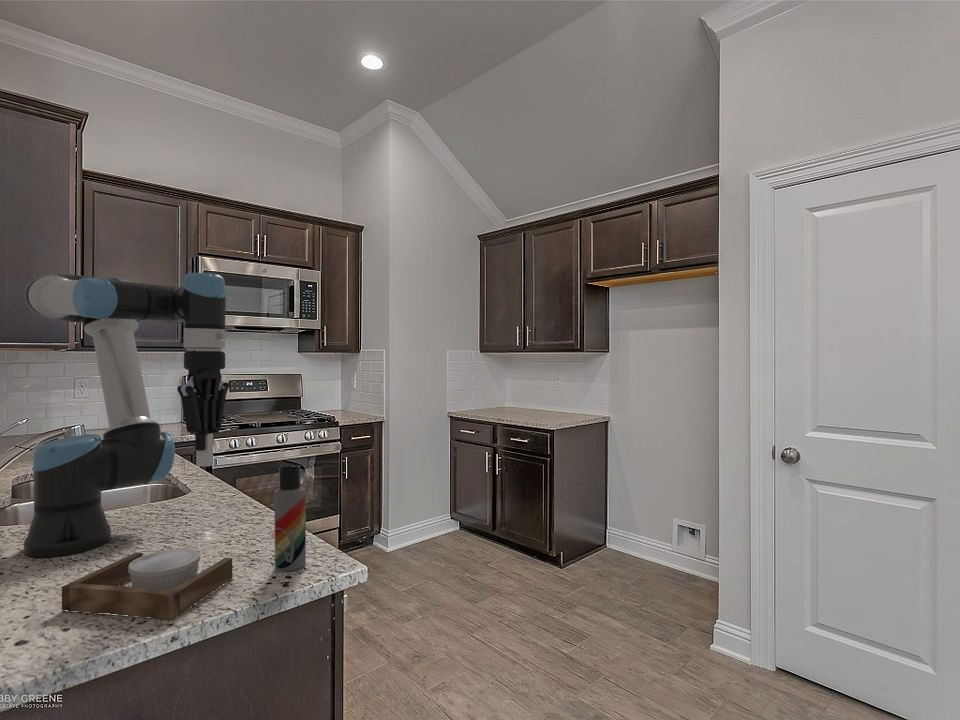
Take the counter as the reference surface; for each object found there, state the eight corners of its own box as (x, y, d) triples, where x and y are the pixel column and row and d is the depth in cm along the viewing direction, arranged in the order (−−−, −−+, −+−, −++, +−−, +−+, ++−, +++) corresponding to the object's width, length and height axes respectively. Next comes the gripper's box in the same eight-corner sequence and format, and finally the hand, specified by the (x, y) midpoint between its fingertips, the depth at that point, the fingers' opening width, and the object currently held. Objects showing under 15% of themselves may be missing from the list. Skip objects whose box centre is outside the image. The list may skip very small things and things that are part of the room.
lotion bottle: (275, 574, 101) (274, 468, 101) (274, 563, 106) (273, 463, 106) (307, 569, 103) (306, 466, 103) (304, 558, 108) (303, 460, 108)
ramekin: (154, 575, 101) (154, 547, 101) (212, 575, 101) (212, 547, 101) (112, 602, 90) (112, 571, 90) (178, 603, 89) (177, 572, 89)
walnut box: (61, 611, 86) (61, 586, 86) (135, 573, 101) (135, 552, 101) (173, 620, 83) (172, 594, 83) (232, 579, 98) (232, 558, 98)
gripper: (199, 350, 102) (199, 473, 102) (240, 350, 114) (240, 459, 115) (164, 349, 103) (164, 471, 103) (209, 349, 116) (209, 458, 116)
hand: (204, 465), depth 109 cm, fingers closed
